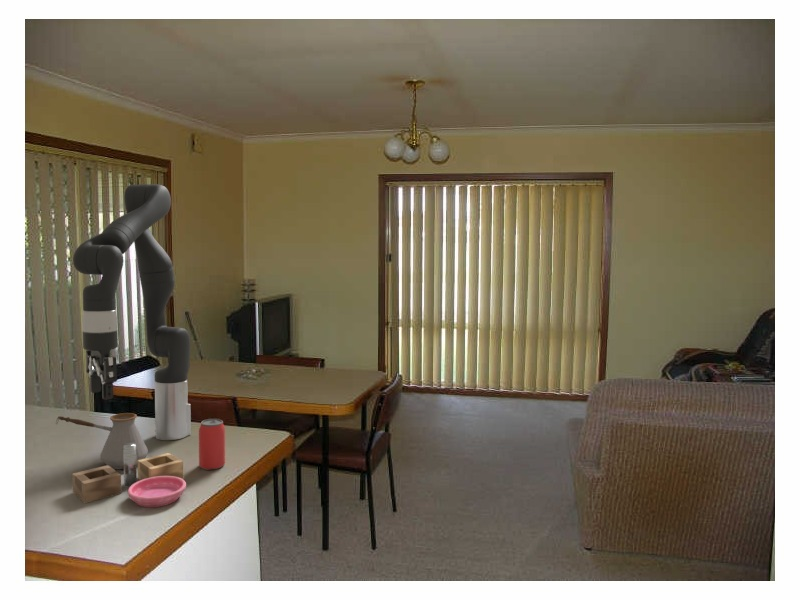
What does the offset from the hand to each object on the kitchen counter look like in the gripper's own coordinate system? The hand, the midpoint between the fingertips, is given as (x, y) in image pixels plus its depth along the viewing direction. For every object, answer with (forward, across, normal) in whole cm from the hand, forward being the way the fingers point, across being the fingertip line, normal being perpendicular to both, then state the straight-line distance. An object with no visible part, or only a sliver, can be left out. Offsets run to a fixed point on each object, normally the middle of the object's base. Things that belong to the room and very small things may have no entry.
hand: (101, 395), depth 145 cm
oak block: (+22, -6, -12) cm, 25 cm away
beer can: (+22, -7, -25) cm, 34 cm away
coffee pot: (+22, +11, -4) cm, 25 cm away
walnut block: (+22, -5, +3) cm, 23 cm away
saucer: (+22, -17, -6) cm, 29 cm away
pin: (+22, -5, -4) cm, 23 cm away
